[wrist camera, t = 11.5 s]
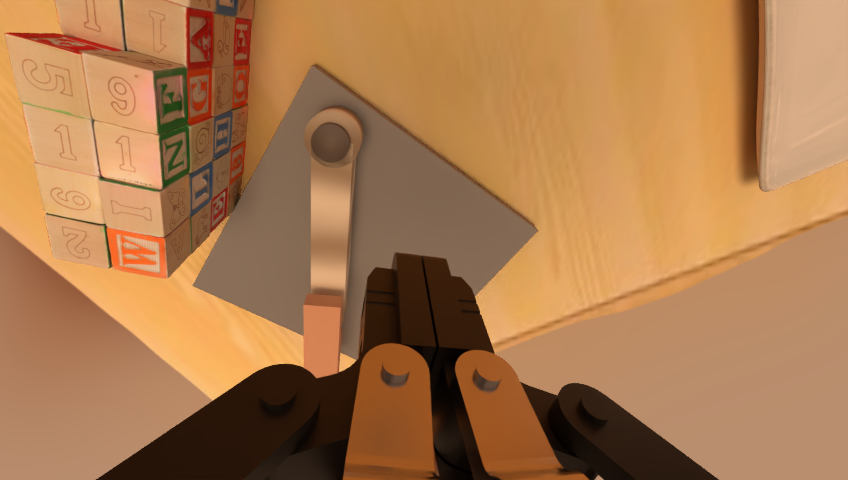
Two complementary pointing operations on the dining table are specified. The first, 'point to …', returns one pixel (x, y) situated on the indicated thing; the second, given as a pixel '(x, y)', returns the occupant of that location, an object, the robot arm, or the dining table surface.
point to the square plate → (801, 89)
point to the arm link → (332, 197)
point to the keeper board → (371, 225)
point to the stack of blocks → (136, 126)
